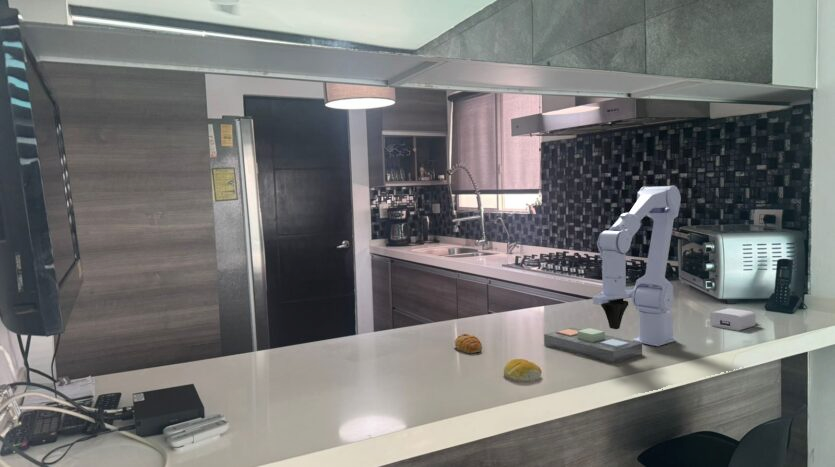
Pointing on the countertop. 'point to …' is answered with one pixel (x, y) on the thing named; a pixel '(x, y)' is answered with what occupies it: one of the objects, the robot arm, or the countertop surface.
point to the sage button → (591, 335)
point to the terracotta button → (568, 332)
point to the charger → (733, 319)
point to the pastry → (468, 343)
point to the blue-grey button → (614, 343)
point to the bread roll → (522, 370)
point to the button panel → (593, 347)
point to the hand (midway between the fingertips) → (614, 328)
